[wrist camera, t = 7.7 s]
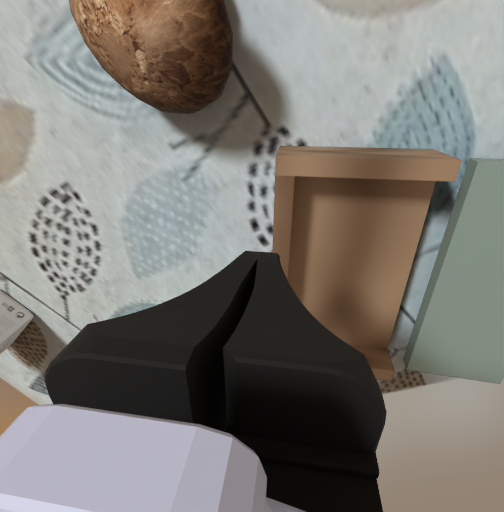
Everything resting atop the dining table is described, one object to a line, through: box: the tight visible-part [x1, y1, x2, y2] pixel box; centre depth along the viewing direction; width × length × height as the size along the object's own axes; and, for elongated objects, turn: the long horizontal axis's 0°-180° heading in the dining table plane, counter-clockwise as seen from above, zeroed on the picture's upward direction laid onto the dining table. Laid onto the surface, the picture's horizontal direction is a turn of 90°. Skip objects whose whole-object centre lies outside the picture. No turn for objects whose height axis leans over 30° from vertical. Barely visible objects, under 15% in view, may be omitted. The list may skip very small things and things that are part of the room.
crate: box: [272, 146, 462, 381], centre depth 20 cm, size 9×15×4 cm, turn 0°
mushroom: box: [69, 0, 233, 113], centre depth 14 cm, size 8×8×6 cm
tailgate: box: [403, 158, 504, 384], centre depth 18 cm, size 1×15×6 cm
